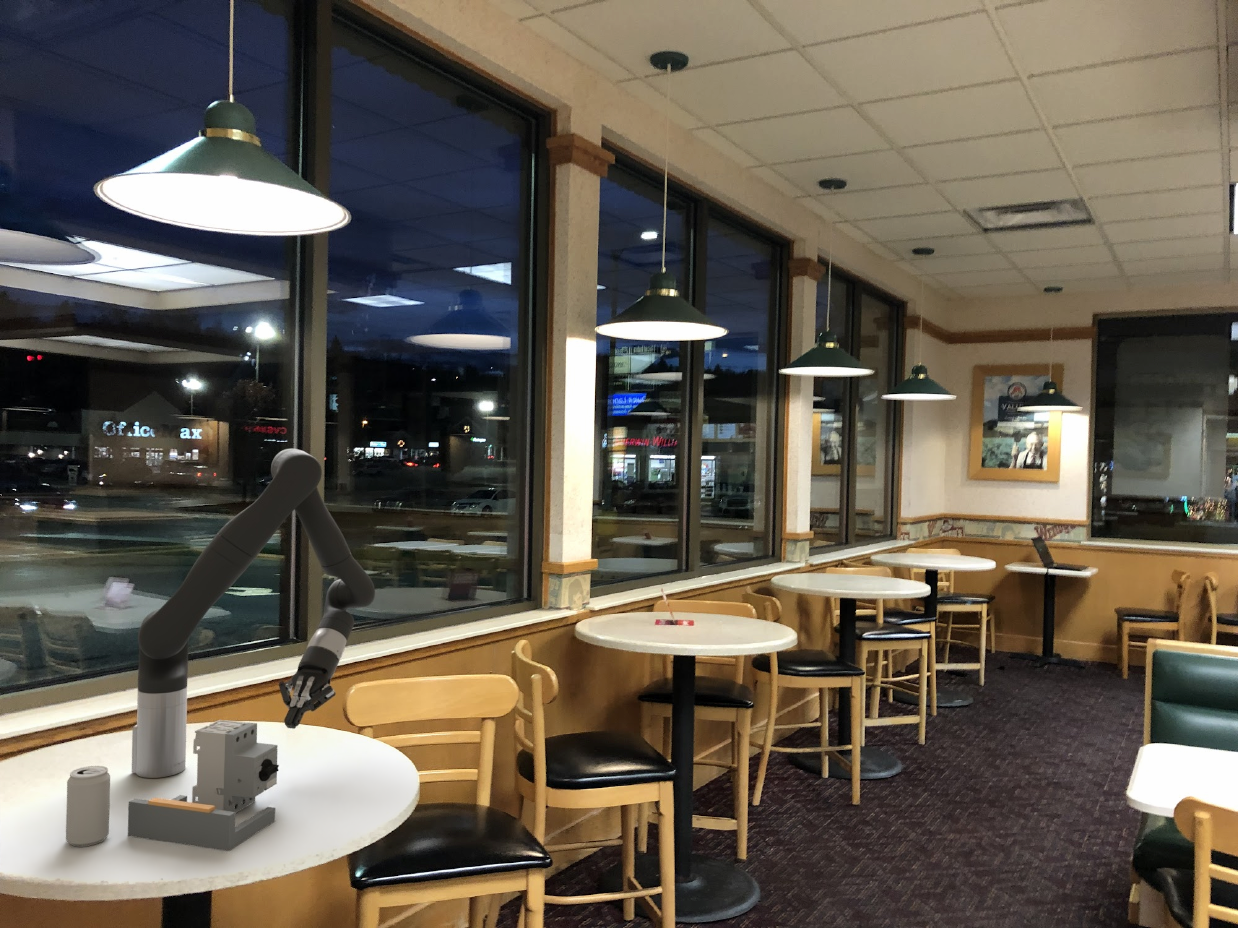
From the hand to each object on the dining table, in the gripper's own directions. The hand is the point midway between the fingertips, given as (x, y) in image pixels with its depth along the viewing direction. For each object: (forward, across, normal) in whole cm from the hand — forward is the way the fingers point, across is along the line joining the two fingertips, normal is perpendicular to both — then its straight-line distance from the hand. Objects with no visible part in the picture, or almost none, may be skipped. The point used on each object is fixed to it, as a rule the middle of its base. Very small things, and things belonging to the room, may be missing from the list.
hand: (289, 726), depth 190 cm
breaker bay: (+26, 0, -11) cm, 28 cm away
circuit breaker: (+19, 0, -4) cm, 20 cm away
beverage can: (+33, -15, -18) cm, 41 cm away
